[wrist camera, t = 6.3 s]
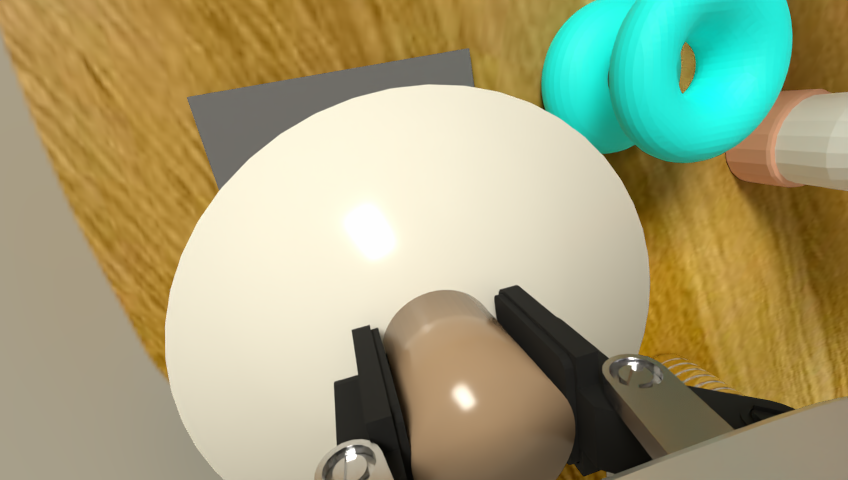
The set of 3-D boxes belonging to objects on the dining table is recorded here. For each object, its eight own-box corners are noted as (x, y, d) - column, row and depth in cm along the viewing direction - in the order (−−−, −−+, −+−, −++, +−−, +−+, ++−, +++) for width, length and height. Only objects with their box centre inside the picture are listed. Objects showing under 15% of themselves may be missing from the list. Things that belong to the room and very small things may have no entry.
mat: (465, 49, 27) (468, 48, 26) (498, 285, 32) (501, 288, 31) (190, 97, 24) (186, 97, 23) (276, 347, 29) (275, 352, 28)
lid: (624, 48, 12) (829, -3, 7) (632, 434, 17) (762, 564, 12) (83, 145, 10) (-163, 169, 5) (266, 569, 15) (237, 807, 10)
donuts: (794, 148, 22) (635, 181, 21) (655, 140, 32) (537, 162, 30) (822, -65, 19) (639, -49, 18) (659, -5, 29) (528, 10, 27)
